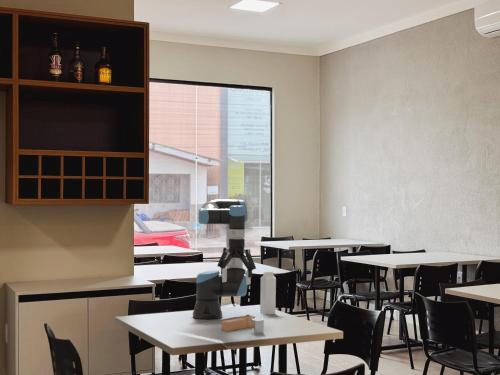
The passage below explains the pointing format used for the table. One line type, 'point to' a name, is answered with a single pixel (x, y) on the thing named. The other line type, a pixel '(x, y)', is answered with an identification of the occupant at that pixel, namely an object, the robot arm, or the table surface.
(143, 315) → the table surface
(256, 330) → the cylinder
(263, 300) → the milk
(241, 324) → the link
